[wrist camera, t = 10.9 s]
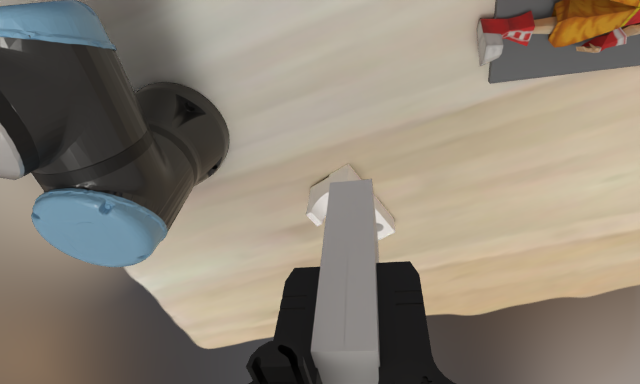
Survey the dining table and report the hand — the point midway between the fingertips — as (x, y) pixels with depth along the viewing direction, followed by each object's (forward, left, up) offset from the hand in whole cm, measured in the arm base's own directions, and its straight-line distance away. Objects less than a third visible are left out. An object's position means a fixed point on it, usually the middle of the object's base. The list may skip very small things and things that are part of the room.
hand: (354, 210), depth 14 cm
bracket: (-4, -29, -38) cm, 48 cm away
